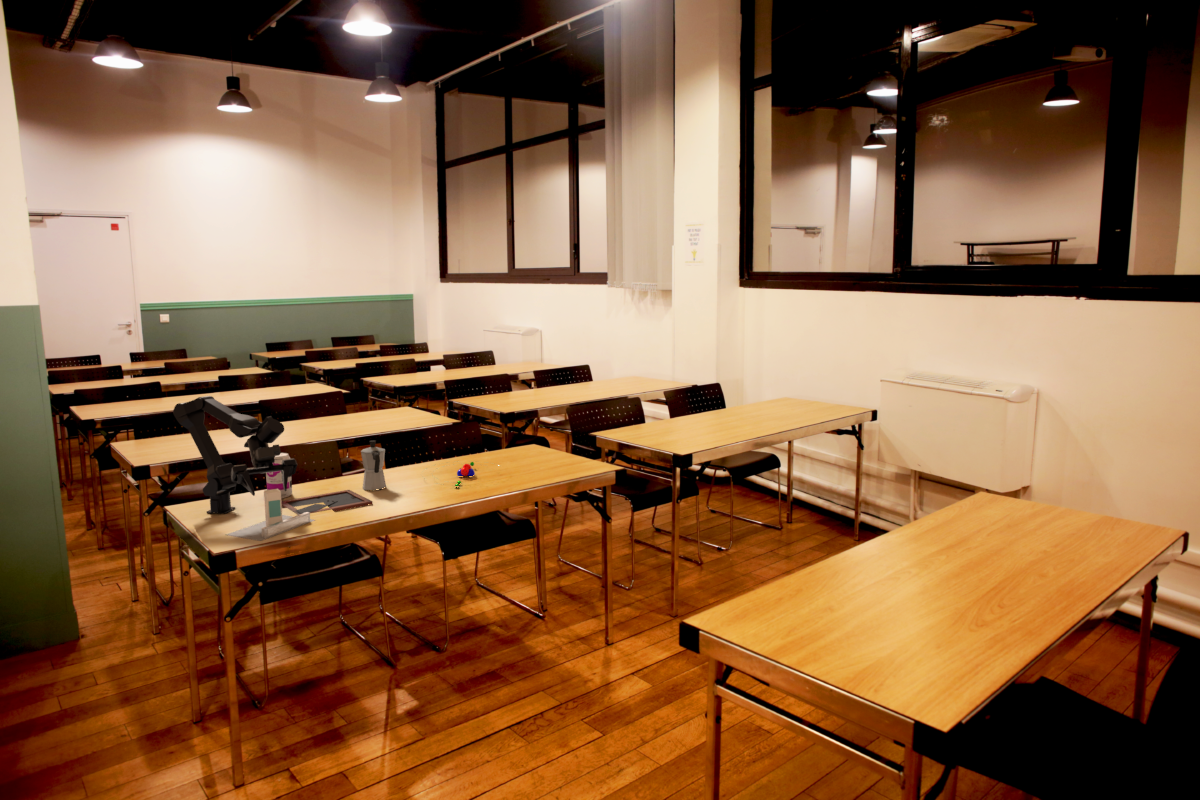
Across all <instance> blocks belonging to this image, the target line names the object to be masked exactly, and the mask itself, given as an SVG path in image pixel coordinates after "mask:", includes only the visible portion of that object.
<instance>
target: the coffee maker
mask: <svg viewBox="0 0 1200 800" xmlns="http://www.w3.org/2000/svg"><path fill="white" fill-rule="evenodd" d="M376 443H377V440H369V445H370V447H366V448H363V449H362V450H360V453H361V455H360V456H361V460H362V464H363V465H362V466H363V468H364V474H363V480H362V481H363V483H362V490H364V491H366V490H376V489H382V488H384V487H386V488H387V483H386V479H385V473H384V469H383V467H384V465H385V455H386V454H385V453H386V449H385V448H382V447H378V446H376Z"/></svg>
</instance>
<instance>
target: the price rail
mask: <svg viewBox="0 0 1200 800" xmlns="http://www.w3.org/2000/svg"><path fill="white" fill-rule="evenodd" d="M310 519H311V513H310V512H305V513H302V514H300V515H298V514H296V515H295V516H293V517H291V518H289V519H286V520H283V521H280V522H277V523H275V524H272V525H269V526H266V527H264V528H261V531H262V538H264V539H265V540H267V539H269V538H268V537H270V538H272V537H271V536H273V535H275V536H277V535H276V534H278V535H280V534H279V533H281V532H283V533H285V532H284V531H286V532H288V531H287V530H289V529H291V530H293V529H292V528H294V529H296V528H295V527H297V526H299V527H301V526H300V525H302V526H304V525H306V524H305V523H307V524H309V523H308V522H310ZM310 523H311V522H310ZM303 524H304V525H303ZM297 528H298V527H297ZM289 531H290V530H289ZM281 534H282V533H281ZM273 537H274V536H273ZM266 538H267V539H266Z"/></svg>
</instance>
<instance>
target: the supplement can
mask: <svg viewBox="0 0 1200 800" xmlns="http://www.w3.org/2000/svg"><path fill="white" fill-rule="evenodd" d="M274 459H275V462H274V463H273V465H280V464H282V460H285V459H291V457H290V455H289V453H287V452H281V454H280V455H278V456H275V457H274ZM265 477H266V490H272V489H279V490H280V491H281V499H285V498H288V497H291V495H292V494H293V486H292V485H293V484H292V483H293V482H292V476H291V477H288V482H287V490H286V491H285V490H284V488H283V482H282V473H281V471H276V472H268V473H265Z"/></svg>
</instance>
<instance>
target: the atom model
mask: <svg viewBox="0 0 1200 800" xmlns="http://www.w3.org/2000/svg"><path fill="white" fill-rule="evenodd" d="M455 462H459V460H458V461H455ZM475 462H476V463H477V462H479V461H478V460H477V461H470V463H463V464H462V467H461V468H460V469H458V470H457V472H456V475H457V477H458V476H464V477H467V476H473V475H474V476H475V475H476V473H475V470H474V469H473V468H472V467H474V466H475ZM448 463H449V462H446V464H448ZM485 463H488V462H485ZM441 464H443V462H442V463H440V465H441ZM491 464H493V465H494V463H492V462H491ZM455 465H456V464H454V463H453V466H455ZM478 465H481V464H478ZM495 465H496V466H499V467H501V465H499V464H495ZM432 466H435V464H434V465H431V466H429V468H430V467H432ZM446 466H449V464H448V465H446ZM484 466H487V465H486V464H484ZM442 467H445V465H444V466H442ZM427 469H428V467H426V468H425V469H423V471H422V472H424V471H425V470H427ZM438 469H439V467H438V468H436V469H435V470H434V471H436V470H438ZM421 476H422V478H423V479H424V480H426V478H424V476H423V475H421ZM474 476H473V477H474ZM432 477H433V478H435V479H436V480H437V479H438V478H437V477H435V476H434V475H433V474H432ZM445 482H447V483H448V481H446V480H445ZM451 483H452V484H454V487H455V486H459V487H460V485H459V484H460V483H461V484H462V481H461V480H458V481H456V483H455V482H451ZM457 483H458V484H457ZM435 484H438V483H437V482H436V483H435ZM440 485H441V486H442V485H443V484H442V483H440Z"/></svg>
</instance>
